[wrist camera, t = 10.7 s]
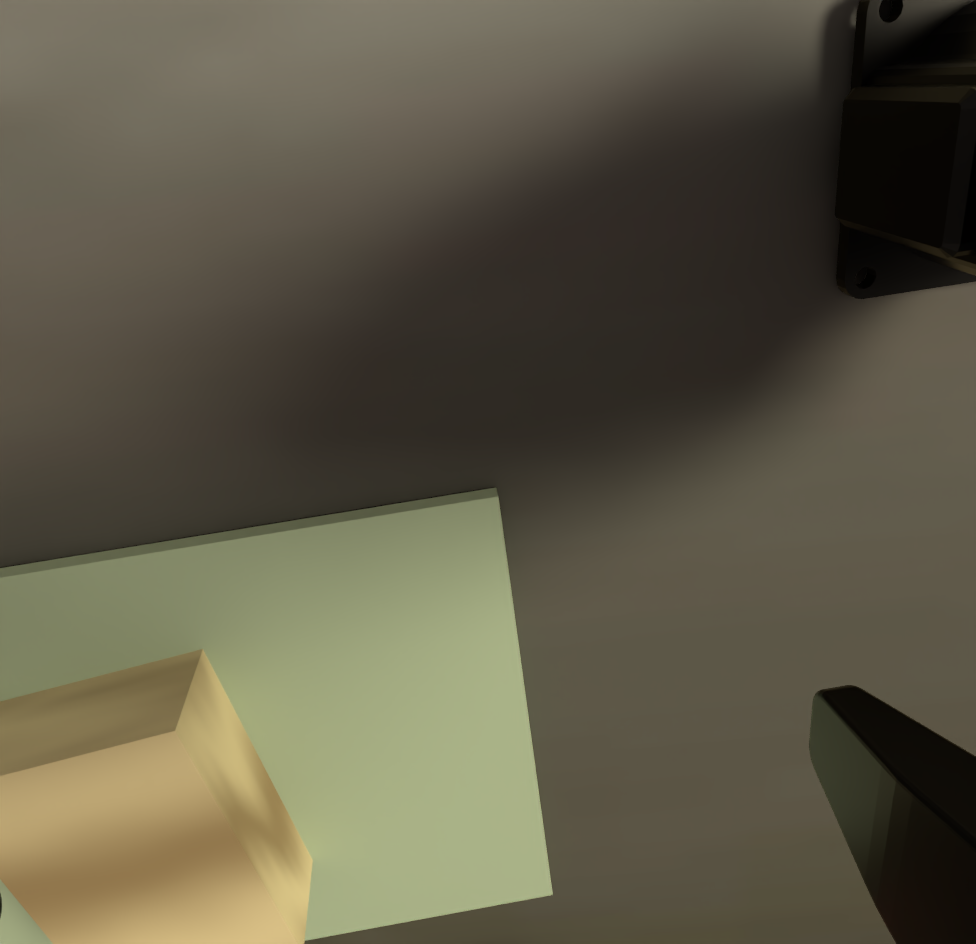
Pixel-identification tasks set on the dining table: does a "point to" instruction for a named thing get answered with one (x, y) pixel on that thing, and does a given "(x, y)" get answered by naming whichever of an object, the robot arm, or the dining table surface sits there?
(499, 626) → the rubber mat
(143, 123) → the dining table surface
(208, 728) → the brass block
